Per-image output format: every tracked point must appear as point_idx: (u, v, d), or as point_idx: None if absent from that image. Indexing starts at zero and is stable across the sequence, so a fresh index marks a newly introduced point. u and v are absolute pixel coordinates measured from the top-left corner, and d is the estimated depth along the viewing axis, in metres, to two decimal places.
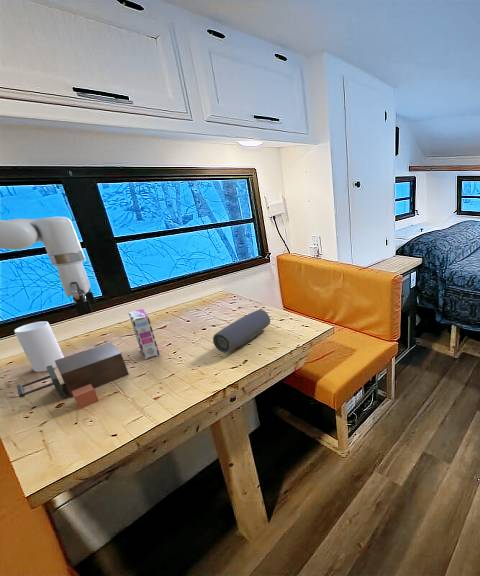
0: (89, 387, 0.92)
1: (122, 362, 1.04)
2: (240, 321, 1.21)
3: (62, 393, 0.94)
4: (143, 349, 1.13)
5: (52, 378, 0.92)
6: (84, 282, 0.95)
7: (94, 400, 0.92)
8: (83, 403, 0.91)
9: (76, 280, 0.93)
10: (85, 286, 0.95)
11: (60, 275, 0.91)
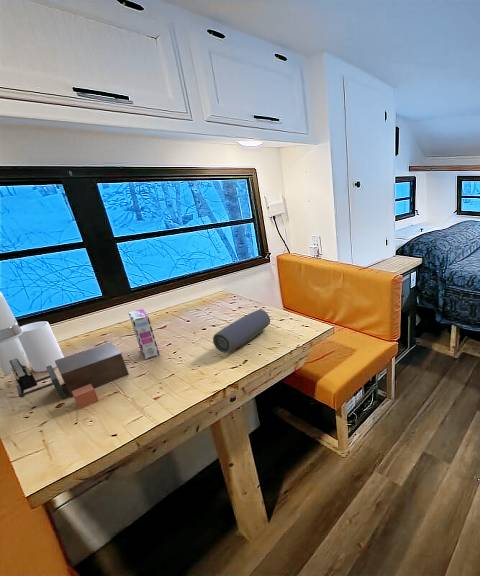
0: (89, 387, 0.92)
1: (122, 362, 1.04)
2: (240, 321, 1.21)
3: (62, 393, 0.94)
4: (143, 349, 1.13)
5: (52, 378, 0.92)
6: (25, 357, 0.87)
7: (94, 400, 0.92)
8: (83, 403, 0.91)
9: (16, 356, 0.85)
10: (27, 361, 0.88)
11: None
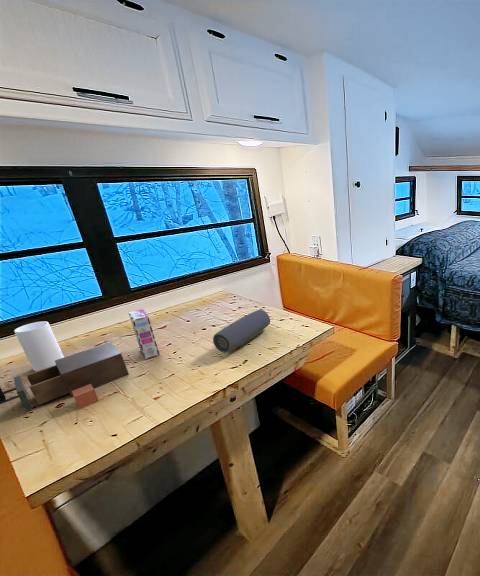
0: (89, 387, 0.92)
1: (122, 362, 1.04)
2: (240, 321, 1.21)
3: (29, 406, 0.89)
4: (143, 349, 1.13)
5: (18, 390, 0.87)
6: None
7: (94, 400, 0.92)
8: (83, 403, 0.91)
9: None
10: None
11: None
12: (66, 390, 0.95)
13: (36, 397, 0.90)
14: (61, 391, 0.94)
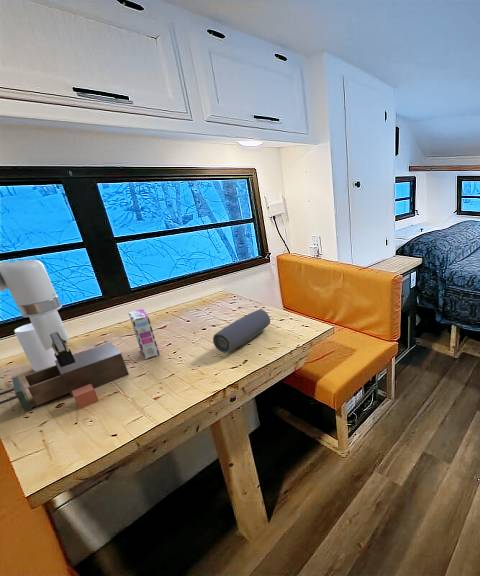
0: (89, 387, 0.92)
1: (122, 362, 1.04)
2: (240, 321, 1.21)
3: (27, 407, 0.88)
4: (143, 349, 1.13)
5: (16, 391, 0.86)
6: (65, 331, 0.84)
7: (94, 400, 0.92)
8: (83, 403, 0.91)
9: (57, 330, 0.82)
10: (66, 335, 0.84)
11: (37, 327, 0.79)
12: (64, 391, 0.95)
13: (34, 398, 0.90)
14: (59, 392, 0.94)
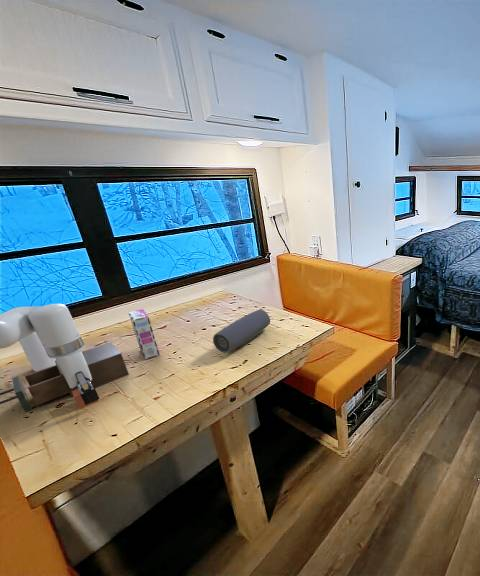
0: None
1: (122, 362, 1.04)
2: (240, 321, 1.21)
3: (27, 407, 0.88)
4: (143, 349, 1.13)
5: (16, 391, 0.86)
6: (88, 369, 0.88)
7: None
8: (83, 403, 0.91)
9: (81, 369, 0.86)
10: None
11: (63, 367, 0.83)
12: (64, 391, 0.95)
13: (34, 398, 0.90)
14: (59, 392, 0.94)
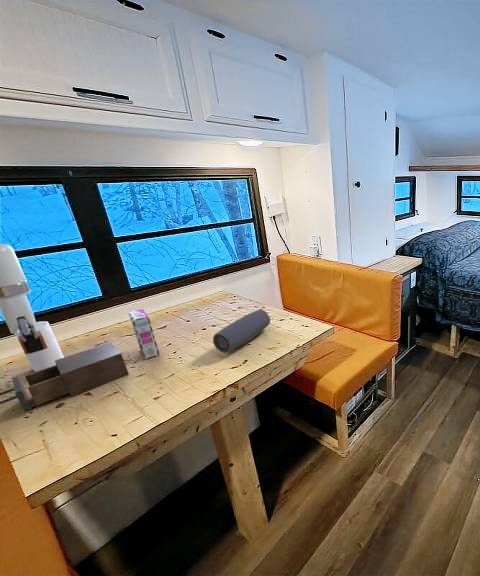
0: (37, 334, 0.88)
1: (122, 362, 1.04)
2: (240, 321, 1.21)
3: (27, 407, 0.88)
4: (143, 349, 1.13)
5: (16, 391, 0.86)
6: (32, 315, 0.85)
7: None
8: None
9: (24, 314, 0.83)
10: (34, 320, 0.85)
11: (3, 310, 0.80)
12: (64, 391, 0.95)
13: (34, 398, 0.90)
14: (59, 392, 0.94)
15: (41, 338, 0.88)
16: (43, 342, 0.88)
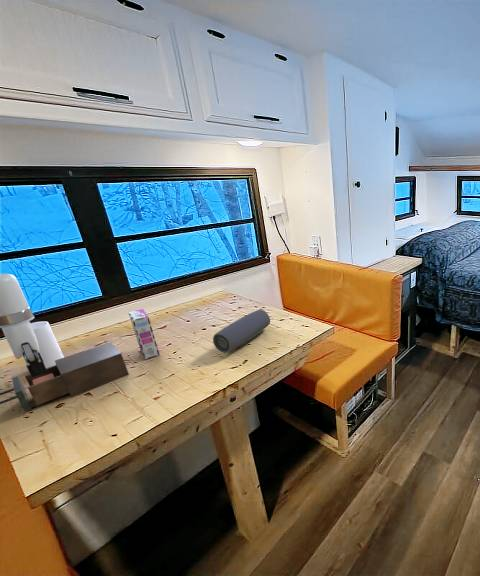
0: (50, 377, 0.95)
1: (122, 362, 1.04)
2: (240, 321, 1.21)
3: (27, 407, 0.88)
4: (143, 349, 1.13)
5: (16, 391, 0.86)
6: (36, 341, 0.88)
7: None
8: None
9: (28, 340, 0.86)
10: (37, 345, 0.89)
11: (8, 337, 0.84)
12: (64, 391, 0.95)
13: (34, 398, 0.90)
14: (59, 392, 0.94)
15: None
16: None
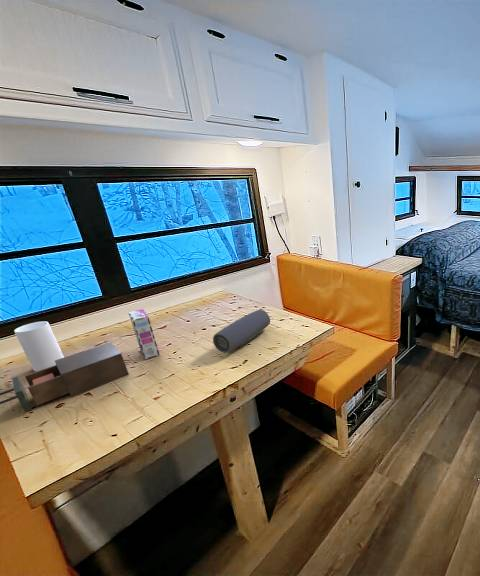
0: (50, 377, 0.95)
1: (122, 362, 1.04)
2: (240, 321, 1.21)
3: (27, 407, 0.88)
4: (143, 349, 1.13)
5: (16, 391, 0.86)
6: None
7: None
8: None
9: None
10: None
11: None
12: (64, 391, 0.95)
13: (34, 398, 0.90)
14: (59, 392, 0.94)
15: None
16: None
